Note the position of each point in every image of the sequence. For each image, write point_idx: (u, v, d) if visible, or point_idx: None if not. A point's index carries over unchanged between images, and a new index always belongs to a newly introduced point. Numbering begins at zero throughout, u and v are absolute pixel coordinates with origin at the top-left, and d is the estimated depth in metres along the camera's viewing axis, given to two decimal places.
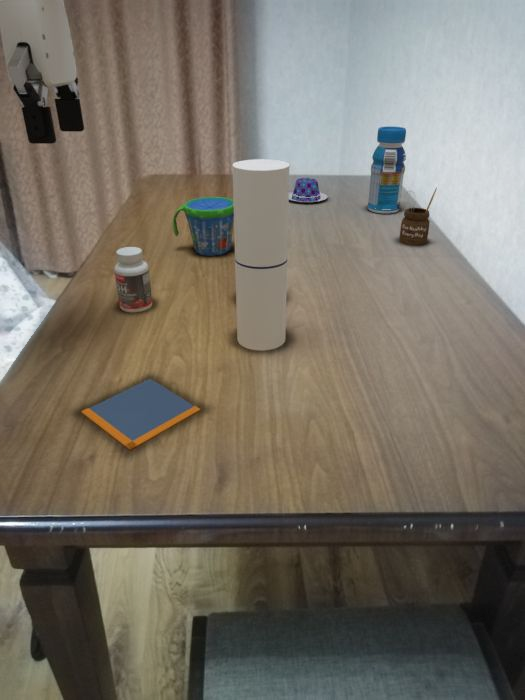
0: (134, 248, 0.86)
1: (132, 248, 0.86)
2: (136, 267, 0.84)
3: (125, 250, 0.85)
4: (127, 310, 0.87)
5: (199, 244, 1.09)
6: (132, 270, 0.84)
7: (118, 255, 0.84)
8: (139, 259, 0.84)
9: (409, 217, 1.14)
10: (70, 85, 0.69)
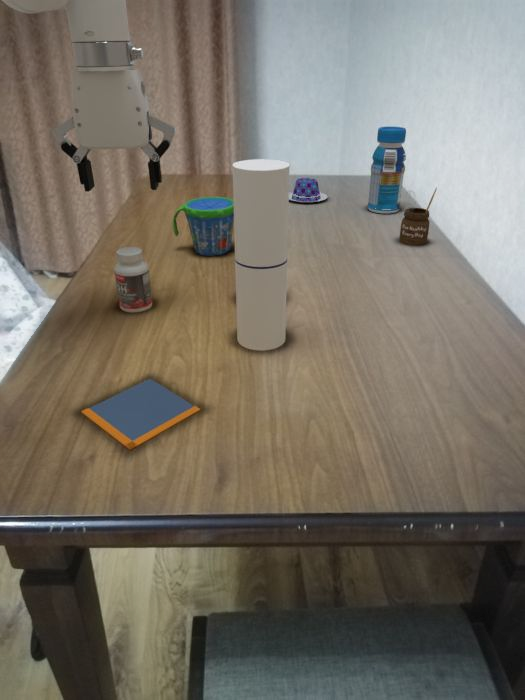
0: (134, 248, 0.86)
1: (132, 248, 0.86)
2: (136, 267, 0.84)
3: (125, 250, 0.85)
4: (127, 310, 0.87)
5: (199, 244, 1.09)
6: (132, 270, 0.84)
7: (118, 255, 0.84)
8: (139, 259, 0.84)
9: (409, 217, 1.14)
10: (142, 149, 0.76)
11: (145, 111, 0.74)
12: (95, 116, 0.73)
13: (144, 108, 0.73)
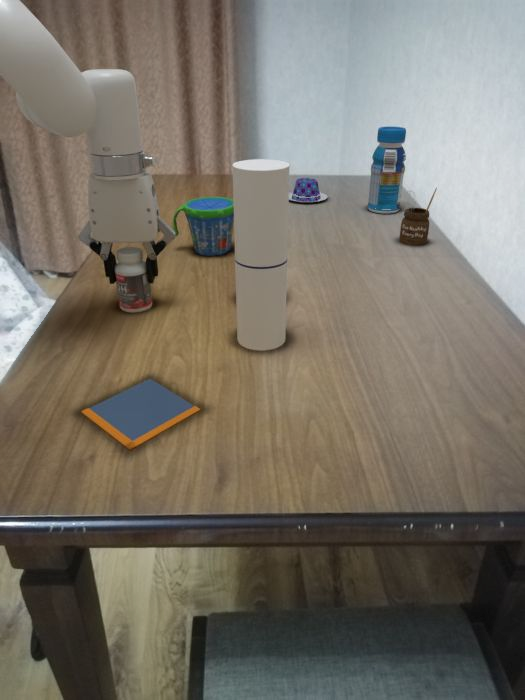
0: (134, 248, 0.86)
1: (132, 248, 0.86)
2: (136, 267, 0.84)
3: (125, 250, 0.85)
4: (127, 310, 0.87)
5: (199, 244, 1.09)
6: (132, 270, 0.84)
7: (118, 255, 0.84)
8: (139, 259, 0.84)
9: (409, 217, 1.14)
10: None
11: (155, 211, 0.81)
12: (109, 216, 0.80)
13: (154, 208, 0.80)
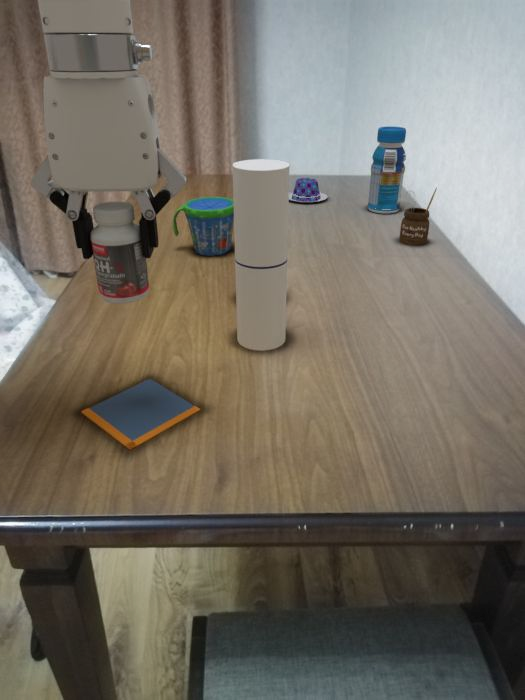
0: (121, 203, 0.55)
1: (118, 203, 0.55)
2: (124, 232, 0.54)
3: (106, 206, 0.54)
4: (111, 300, 0.57)
5: (199, 244, 1.09)
6: (117, 235, 0.53)
7: (95, 212, 0.53)
8: (129, 219, 0.54)
9: (409, 217, 1.14)
10: (136, 197, 0.53)
11: (154, 138, 0.50)
12: (79, 145, 0.49)
13: (153, 133, 0.50)
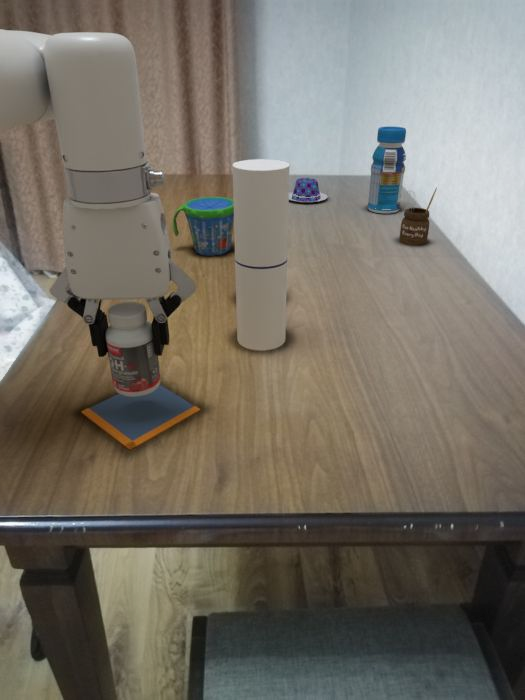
0: (134, 304, 0.58)
1: (131, 304, 0.58)
2: (137, 334, 0.57)
3: (121, 308, 0.57)
4: (124, 393, 0.60)
5: (199, 244, 1.09)
6: (131, 338, 0.56)
7: (110, 317, 0.56)
8: (142, 322, 0.57)
9: (409, 217, 1.14)
10: None
11: (165, 253, 0.53)
12: (96, 262, 0.52)
13: (165, 249, 0.53)
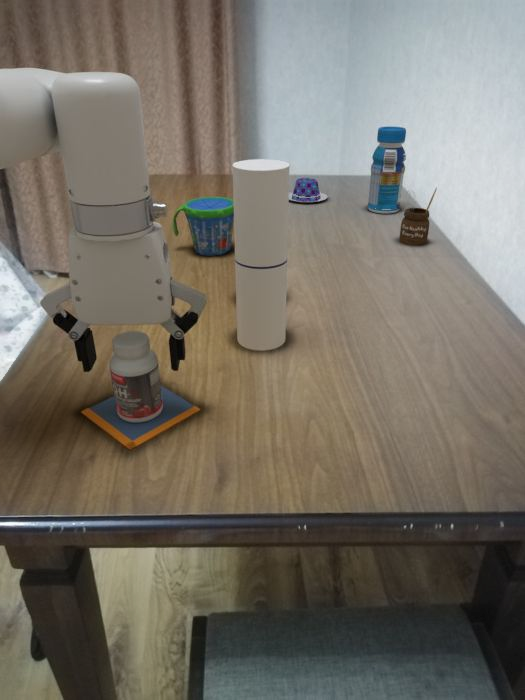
0: (138, 334, 0.60)
1: (135, 334, 0.60)
2: (141, 363, 0.59)
3: (124, 338, 0.59)
4: (127, 419, 0.62)
5: (199, 244, 1.09)
6: (134, 367, 0.58)
7: (115, 347, 0.58)
8: (145, 351, 0.59)
9: (409, 217, 1.14)
10: None
11: (168, 281, 0.55)
12: (100, 290, 0.54)
13: (167, 277, 0.54)
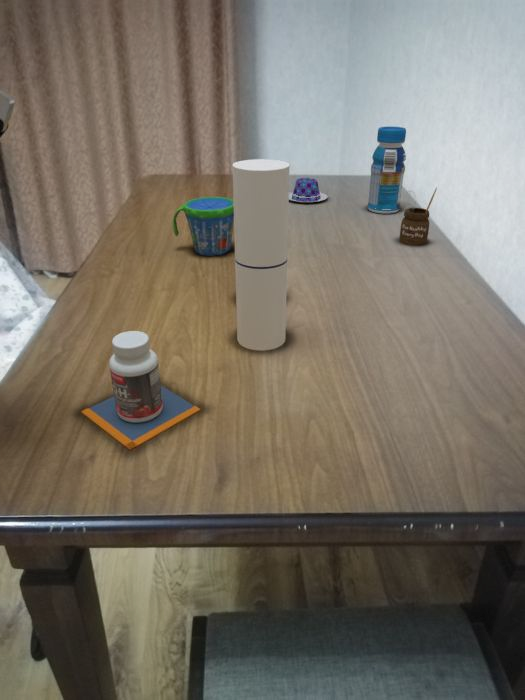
0: (137, 334, 0.60)
1: (135, 334, 0.60)
2: (141, 364, 0.59)
3: (124, 338, 0.59)
4: (127, 419, 0.62)
5: (199, 244, 1.09)
6: (134, 367, 0.58)
7: (114, 347, 0.58)
8: (145, 351, 0.59)
9: (409, 217, 1.14)
10: None
11: None
12: None
13: None
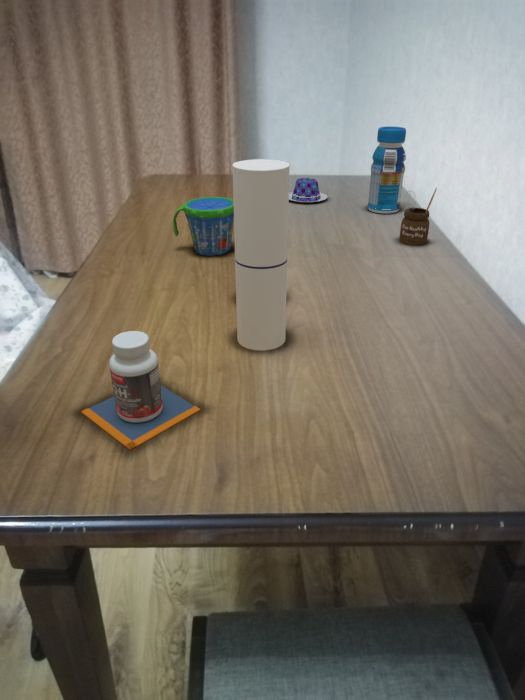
0: (137, 334, 0.60)
1: (135, 334, 0.60)
2: (141, 364, 0.59)
3: (124, 338, 0.59)
4: (127, 419, 0.62)
5: (199, 244, 1.09)
6: (134, 367, 0.58)
7: (114, 347, 0.58)
8: (145, 351, 0.59)
9: (409, 217, 1.14)
10: None
11: None
12: None
13: None
